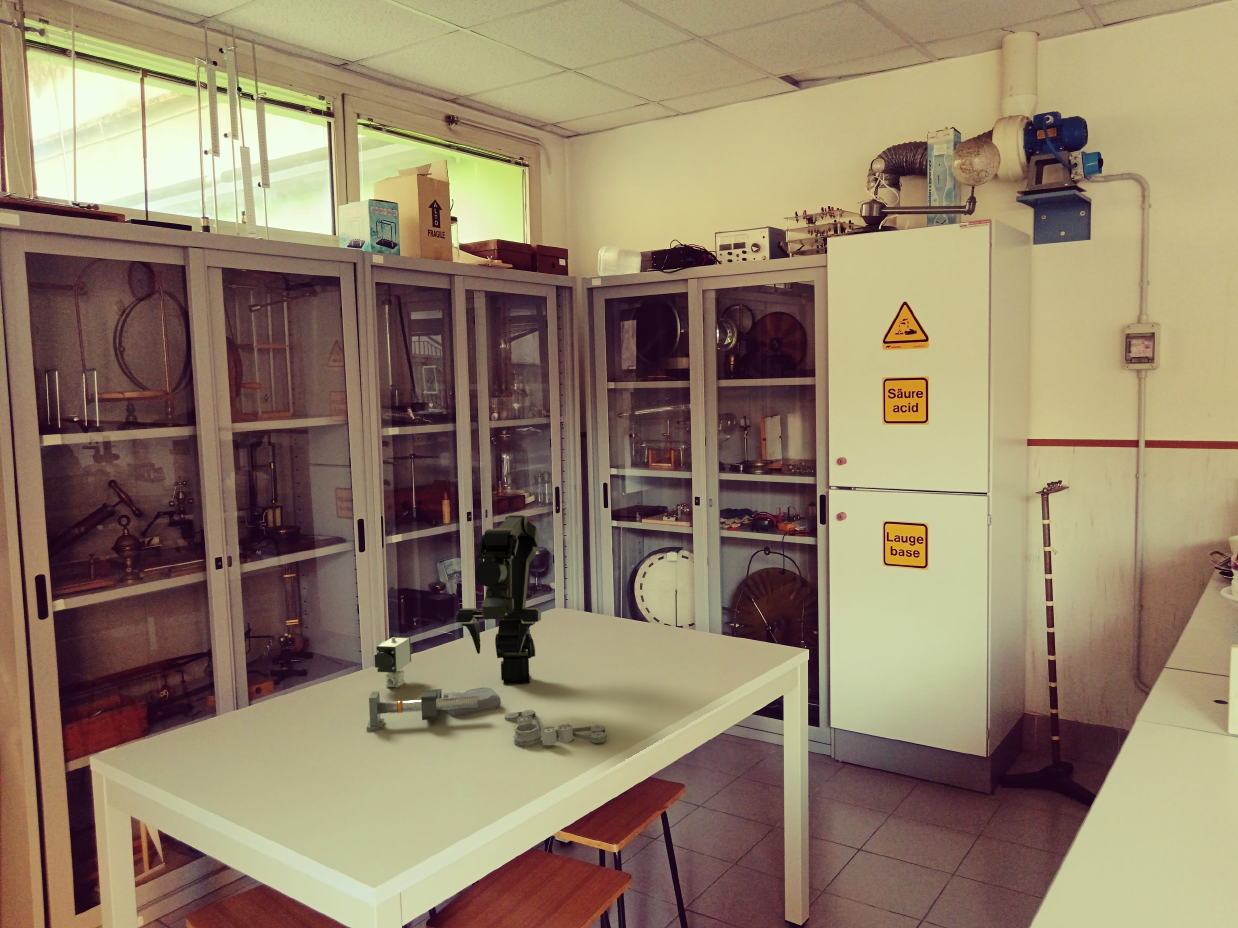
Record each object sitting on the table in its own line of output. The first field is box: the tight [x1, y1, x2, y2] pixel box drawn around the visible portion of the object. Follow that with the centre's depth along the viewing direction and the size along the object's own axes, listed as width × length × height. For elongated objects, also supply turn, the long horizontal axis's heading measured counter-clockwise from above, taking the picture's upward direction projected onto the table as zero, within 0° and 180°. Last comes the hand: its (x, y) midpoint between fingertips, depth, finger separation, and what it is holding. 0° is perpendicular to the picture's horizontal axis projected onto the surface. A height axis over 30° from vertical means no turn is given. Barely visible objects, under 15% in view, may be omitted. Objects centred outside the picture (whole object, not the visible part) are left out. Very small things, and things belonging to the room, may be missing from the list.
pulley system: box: [504, 709, 607, 748], centre depth 186 cm, size 27×5×15 cm
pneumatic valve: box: [374, 636, 413, 689], centre depth 221 cm, size 6×12×12 cm, turn 168°
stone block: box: [442, 686, 502, 717], centre depth 205 cm, size 12×5×10 cm
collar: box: [420, 688, 443, 721], centre depth 199 cm, size 3×14×5 cm, turn 7°
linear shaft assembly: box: [366, 691, 478, 732], centre depth 194 cm, size 23×5×7 cm, turn 97°
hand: (498, 653), depth 205 cm, fingers open, 9 cm apart
